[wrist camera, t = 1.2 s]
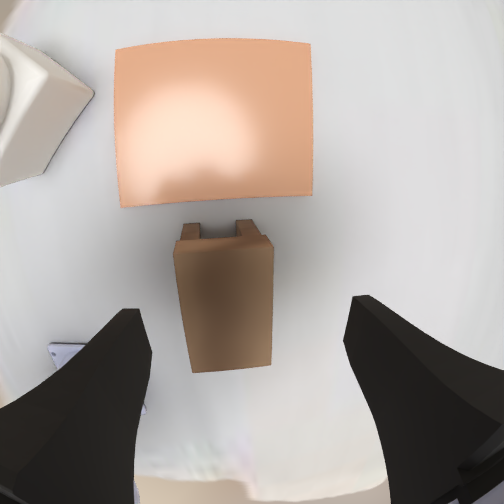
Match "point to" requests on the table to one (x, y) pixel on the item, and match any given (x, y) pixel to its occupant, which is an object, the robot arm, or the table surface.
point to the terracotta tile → (213, 120)
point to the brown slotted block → (226, 297)
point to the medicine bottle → (34, 109)
